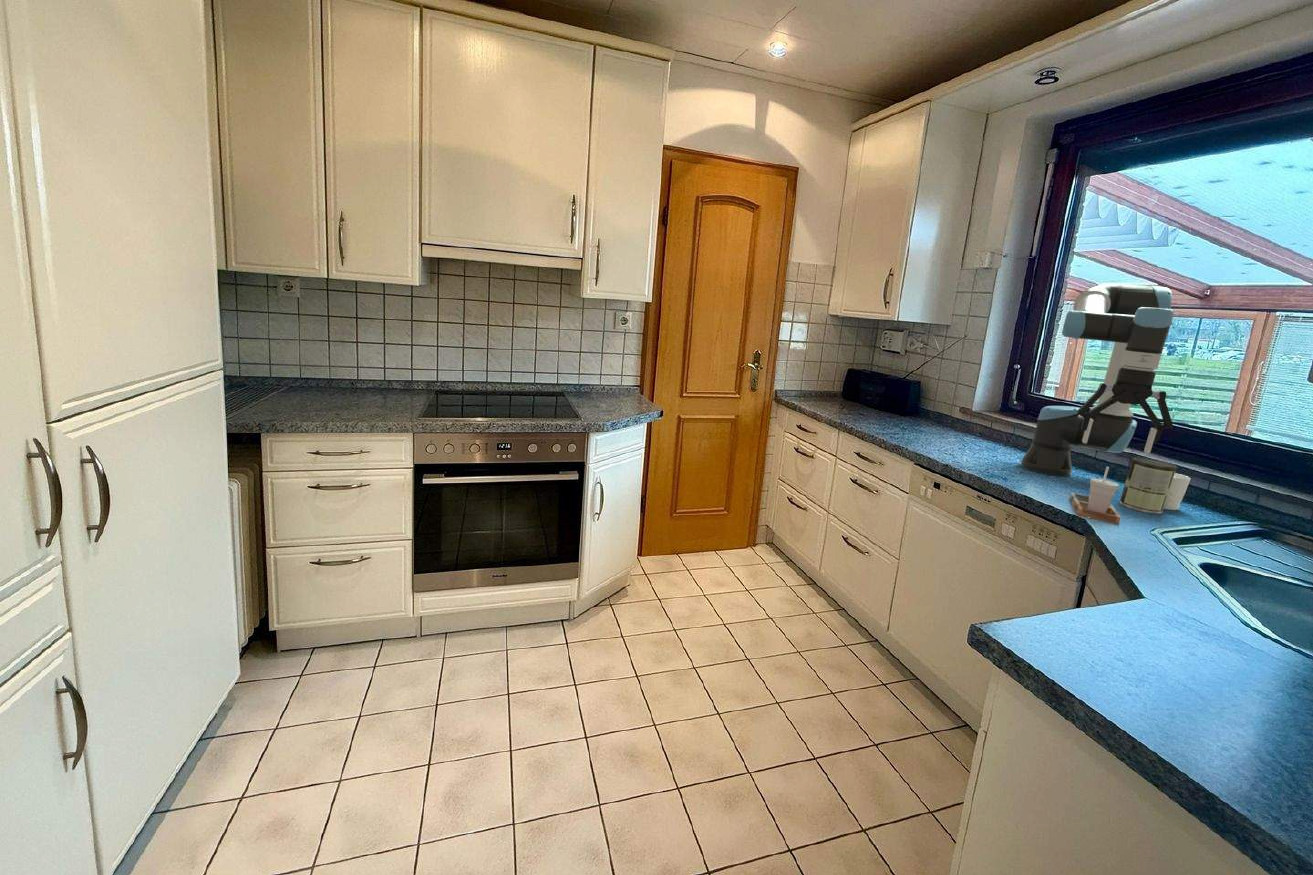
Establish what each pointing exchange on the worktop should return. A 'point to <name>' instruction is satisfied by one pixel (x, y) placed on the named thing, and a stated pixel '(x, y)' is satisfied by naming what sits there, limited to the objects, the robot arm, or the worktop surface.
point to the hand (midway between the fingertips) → (1114, 447)
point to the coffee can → (1147, 485)
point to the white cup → (1176, 491)
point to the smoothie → (1101, 493)
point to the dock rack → (1081, 509)
